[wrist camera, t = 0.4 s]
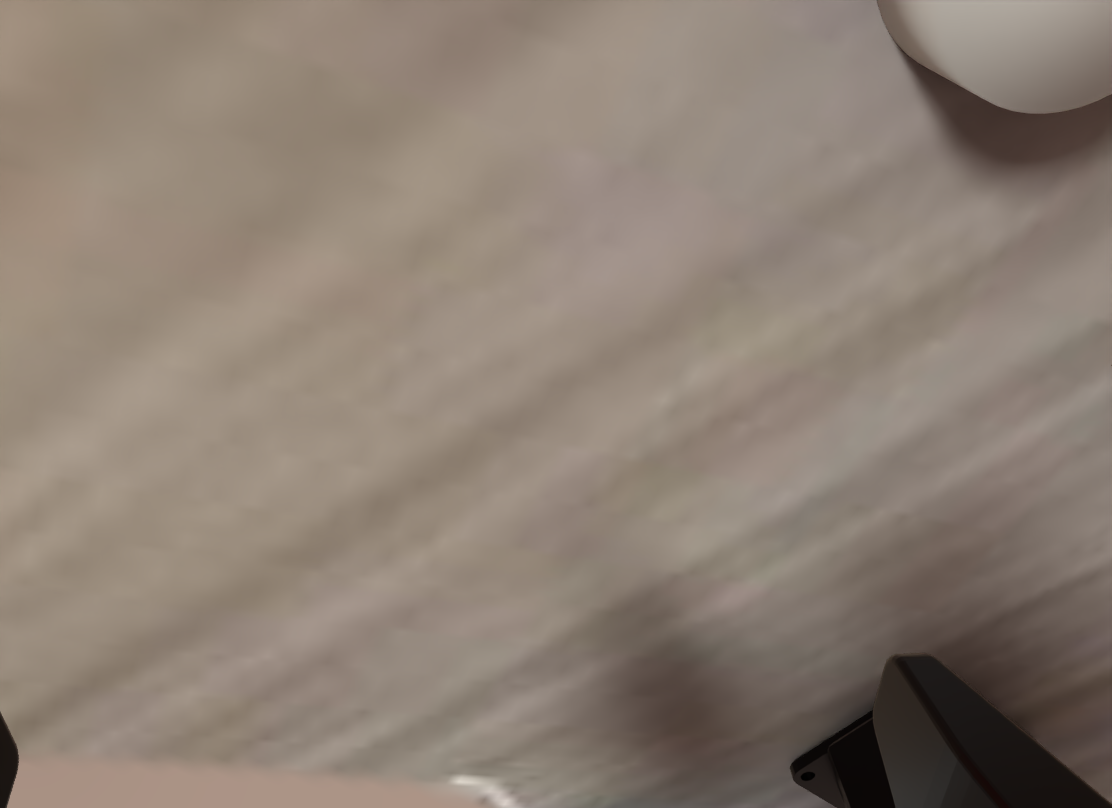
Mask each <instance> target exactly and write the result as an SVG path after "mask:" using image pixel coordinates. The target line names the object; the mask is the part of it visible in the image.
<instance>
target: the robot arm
mask: <svg viewBox="0 0 1112 808" xmlns="http://www.w3.org/2000/svg"><path fill="white" fill-rule="evenodd" d="M18 763H19V755H18V749H17V746H16V743H15V741H14V739H13V737H12V735H11V733H10V731H9V729H8V727H7V725H6V723H5V721H4V718H3V716H2V714H1V712H0V808H7V804H8V801H9V798H10V794H11V791H12V788H13V784H14V781H15V778H16V774H17V770H18ZM790 770H791V773H792V776H793V780H794V781H795V782H796V783H797V784H798V785H800V786H802V787H803V788H805V789H807V790H808V791H810V792H812V793H813V794H815V795H817V796H818V797H820V798H822V799H823V800H825V801H827V802H828V803H830V804H832V805H833V806H835V807H837V808H1112V804H1111V803H1110V802H1109V801H1107V800H1106V799H1105V798H1104V797H1103V796H1101V795H1100V794H1099V793H1098V792H1097V791H1095V790H1094V789H1093V788H1092V787H1091V786H1089V785H1088V784H1087V783H1086V782H1085V781H1083V780H1082V779H1081V778H1080V777H1079V776H1077V775H1076V774H1075V773H1074V772H1073V771H1071V770H1070V769H1069V768H1068V767H1067V766H1065V765H1064V764H1063V763H1062V762H1061V761H1059V760H1058V759H1057V758H1056V757H1055V756H1053V755H1052V754H1051V753H1050V752H1049V751H1047V750H1046V749H1045V748H1044V747H1043V746H1041V745H1040V744H1039V743H1038V742H1037V741H1036V740H1035V739H1034V738H1033V737H1031V736H1030V735H1029V734H1028V733H1026V732H1025V731H1024V730H1022V729H1021V728H1020V727H1019V726H1017V725H1016V724H1015V723H1014V722H1013V721H1011V720H1010V719H1009V718H1008V717H1007V716H1005V715H1004V714H1003V713H1002V712H1001V711H999V710H998V709H997V708H996V707H995V706H993V705H992V704H991V703H990V702H989V701H987V700H986V699H985V698H984V697H983V696H981V695H980V694H979V693H978V692H977V691H975V690H974V689H973V688H972V687H971V686H969V685H968V684H967V683H966V682H965V681H963V680H962V679H961V678H960V677H959V676H957V675H956V674H955V673H954V672H953V671H951V670H950V669H949V668H948V667H947V666H945V665H944V664H943V663H942V662H941V661H939V660H938V659H937V658H935V657H934V656H932V655H930V654H927V653H911V654H895V655H892V656H891V657H889V659H888V660H887V661H886V664H885V667H884V670H883V674H882V677H881V681H880V685H879V688H878V692H877V695H876V699H875V702H874V707H873V711H871V712H870V713H868V714H867V715H865V716H864V717H862V718H860V719H859V720H857V721H856V722H854V723H853V724H851V725H850V726H848V727H847V728H845V729H843V730H842V731H840V732H839V733H837V734H836V735H834V736H833V737H831V738H830V739H828V740H826V741H825V742H823V743H822V744H820V745H819V746H817V747H816V748H814V749H813V750H811V751H809V752H808V753H806V754H805V755H803V756H802V757H800V758H799V759H797V760H796V761H794V762H793V763H792V764H791V766H790Z"/></svg>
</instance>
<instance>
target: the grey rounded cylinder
mask: <svg viewBox="0 0 1112 808" xmlns="http://www.w3.org/2000/svg"><path fill="white" fill-rule="evenodd" d="M877 3H878V7H879V10H880V13H881V16H882V19H883V21H884V23H885V25H886V27H887V30H888V32H889V33H890V35H891V36H892V38H893V39H894V41H895V42H896V43H897V45H898V46H899V47H900V48H901V49H902V50H903V51H904V52H905V53H906V54H907V55H908V56H910V57H911V58H912V59H914V60H915V61H916V62H918V63H919V64H921V65H923V66H925V67H926V68H928V69H930V70H932V71H934V72H935V73H937V74H939V75H941V76H943V77H944V78H946V79H948V80H950V81H952V82H954V83H955V84H957V85H959V86H961V87H963V88H964V89H966V90H968V91H970V92H972V93H973V94H975V95H977V96H979V97H981V98H983V99H984V100H986V101H988V102H990V103H992V104H994V105H996V106H998V107H1002V108H1005V109H1008V110H1011V111H1016V112H1022V113H1028V114H1047V113H1055V112H1063V111H1067V110H1071V109H1075V108H1079V107H1083V106H1085V105H1088V104H1091V103H1093V102H1096V101H1099V100H1101V99H1103V98H1105V97H1107V96H1109V95H1111V94H1112V0H877Z"/></svg>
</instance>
